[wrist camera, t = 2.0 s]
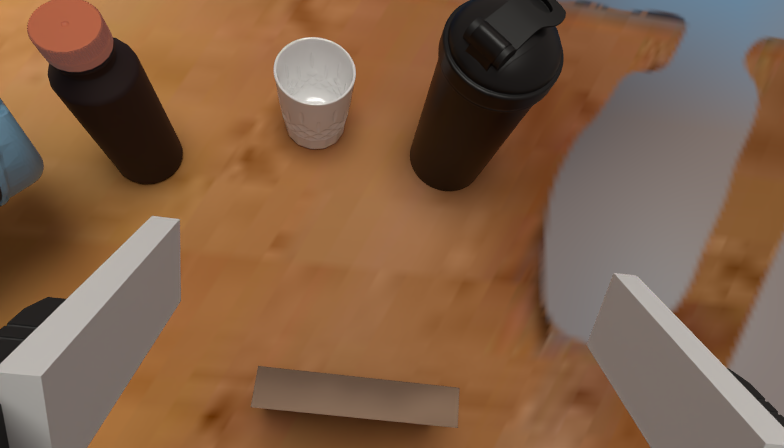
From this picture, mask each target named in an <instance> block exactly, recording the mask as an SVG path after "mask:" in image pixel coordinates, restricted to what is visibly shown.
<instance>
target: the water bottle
mask: <svg viewBox="0 0 784 448" xmlns="http://www.w3.org/2000/svg"><path fill="white" fill-rule="evenodd" d="M565 16H566V12H565V10H564V9H563V7H562V6H561V5H560V4H559V3H558V2H557V1H556V0H470V1H467V2H465V3H464V4H462V5H460V6H459V7H458V8H457V9H456V10H454V12H453V13H452V14H451V15H450V17H449V18H448V20H447V22H446V24H445V27H444V30H443V33H442V35H441V38H440V42H439V53H438V56H439V58H438V62H437V65H436V68H435V71H434V75H433V78H432V81H431V84H430V88H429V91H428V94H427V97H426V101H425V104H424V107H423V111H422V114H421V117H420V120H419V124H418V127H417V130H416V133H415V137H414V140H413V143H412V146H411V151H410V160H411V164H412V167H413V169H414V171H415V173H416V174H417V176H418V177H419V178H420V179H421V180H422V181H423V182H425V183H426V184H427V185H429V186H431V187H433V188H435V189H438V190H443V191H456V190H460V189H463V188H465V187H467V186H468V185H470V184H471V183H472V182H473V181H474V180H475V178H476V177H477V176H478V175H479V173H480V172H481V171H482V169H483V168H484V167H485V166H486V164H487V163H488V162H489V161H490V159H491V158H492V157H493V155H494V154H495V153H496V152H497V150H498V149H499V148H500V147H501V145H502V144H503V143H504V141H505V140H506V139H507V138H508V136H509V135H510V134H511V132H512V131H513V130H514V129H515V127H516V126H517V125H518V124H519V122H520V121H521V120H522V118H523V117H524V116H525V115H526V113H527V112H528V111H529V109H530V108H531V107H532V106H533V105H534V104H536V103H537V102H539V101H540V100H541V99H542V98H543V97H544V96H545V95H546V94H547V93H548V92H549V90H550V89H551V88H552V86H553V85H554V83H555V82H556V81H557V79H558V77H559V75H560V73H561V70H562V66H563V49H562V45H561V41H560V37H559V34H558V30H557V28H556V26H557V25H559V24H560V23H561V22H562V21H563V20H564V18H565Z"/></svg>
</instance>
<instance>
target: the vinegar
mask: <svg viewBox="0 0 784 448" xmlns="http://www.w3.org/2000/svg"><path fill="white" fill-rule="evenodd" d="M28 21H29V23H28V25H27V26H28V28H27V29H28V30H27V31H28V34H29V35H28V36H29V38H30V39H31V41H32V42H33V44H34V45H35V46H36V48H37V49H38V50H39V51H40V53H41V54H42V55H43V56H44V58H45V59H46V60H47V61H48V63H49V68H48V78H49V81H50V85H51V87H52V89H53V90H54V91H55V93H56V94H57V95H58V96H59V97H60V99H61V100H62V101H63V102H64V104H65V105H66V106H67V107H68V108H69V110H70V111H71V112H72V113H73V115H74V116H75V117H76V118H77V120H78V121H79V122H80V123H81V124H82V126H83V127H84V128H85V129H86V131H87V132H88V133H89V134H90V135H91V137H92V138H93V139H94V140H95V142H96V143H97V144H98V145H99V147H100V148H101V149H102V150H103V151H104V153H105V154H106V155H107V156H108V158H109V159H110V160H111V161H112V162H113V164H114V165H115V166H116V167H117V169H118V170H119V171H120V172H121V174H122V175H123V176H125V177H126V178H128V179H130V180H131V181H134V182H138V183H142V184H149V183H156V182H159V181H163V180H165V179H166V178H168V177H169V176H171V175H172V174H173V173H174V172H175V171H176V170H177V169H178V167H179V165H180V163H181V160H182V146H181V144H180V141H179V139H178V137H177V135H176V133H175V131H174V129H173V127H172V125H171V123H170V121H169V119H168V117H167V115H166V113H165V111H164V109H163V107H162V105H161V103H160V101H159V99H158V97H157V95H156V93H155V91H154V89H153V87H152V85H151V83H150V81H149V79H148V77H147V75H146V73H145V71H144V69H143V67H142V65H141V63H140V61H139V59H138V57H137V55H136V54H135V53H134V51H133V50H132V49H131V48H130V47H129V46H128V45H127V44H125V43H123V42H122V41H120V40H118V39H117V38H113V37H112V34H111V32H110V30H109V28H108V26H107V25H106V23H105V21H104V19H103V17H102V15H101V14H100V12H99V11H98V9H96V7H94V6H93V5H91V4H89V2H88V3H87V2H86V1H83V0H51V1H48V2H47V3H45V4H43V5H41V6H40V7H38V9H36V10H35V11H34V12H33V14H32V16H31V17H30V18H29V20H28Z"/></svg>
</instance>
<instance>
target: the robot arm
mask: <svg viewBox="0 0 784 448" xmlns="http://www.w3.org/2000/svg"><path fill="white" fill-rule="evenodd" d="M43 167H44V165H43V160H42V158H41V156H40V154H39V153H38V151H37V150H36V148H35V147H34V146H33V144H32V143H31V141H30V140H29V138H28V137H27V136H26V134H25V133H24V131H23V130H22V128H21V127H20V126H19V124H18V123H17V121H16V120H15V118H14V117H13V116H12V114H11V113H10V111H9V110H8V108H7V107H6V106H5V104H4V103H3V101H2V100H1V98H0V206H2V205H4V204H6V203H7V202H8V200H9V198H11V197H12V196H14V195H16V194H17V193H19V192H20V191H22V190H24V189H25V188H27V187H28V186H30V185H32V184H33V183H35V182H36V181H37V180H38V179H39V178H40V176H41V175H42V172H43ZM180 301H181V281H180V219H173V218H165V217H157V216H151V217H150V218H149V219H148V220H147V221H146V222H145V223H144V224H143V225H142V226H141V227H140V228H139V229H138V230H137V231H136V232H135V233H134V234H133V235H132V236H131V237H130V238H129V239H128V240H127V241H126V242H125V243H124V244H123V245H122V246H121V247H120V248H119V249H118V250H117V251H116V252H115V253H113V254H112V255H111V256H110V257H109V258H108V259H107V260H106V261H105V262H104V263H103V264H102V265H101V266H100V267H99V268H98V269H97V270H96V271H95V272H94V273H93V274H92V275H91V276H90V277H89V278H88V279H87V280H86V281H85V282H84V283H83V284H82V285H81V286H80V287H79V288H78V289H77V290H75V291H74V292H73V293H72V294H71V295H70V296H69V297H68V298H67V299H62V298H52V297H47V298H45V299H43V300H41V301H39V302H37V303H35V304H32V305H30V306H28V307H26V308H24V309H23V310H22V311H21V312H20V313H18V314H17V315H16V316H15V317H14V318H13V319H12V320H11V321H9V322H8V324H7V326H4V327H3V328H1V329H0V448H87V447H88V445H89V444H90V442H91V441H92V439H93V437H94V436H95V434H96V433H97V431H98V430H99V428H100V427H101V425H102V423H103V422H104V420H105V419H106V417H107V416H108V414H109V412H110V411H111V409H112V408H113V406H114V405H115V403H116V401H117V400H118V398H119V397H120V395H121V394H122V392H123V391H124V389H125V387H126V386H127V384H128V383H129V381H130V380H131V378H132V376H133V375H134V373H135V372H136V370H137V369H138V367H139V365H140V364H141V362H142V361H143V359H144V358H145V356H146V355H147V353H148V351H149V350H150V348H151V347H152V345H153V344H154V342H155V340H156V339H157V337H158V336H159V334H160V333H161V331H162V330H163V328H164V326H165V325H166V323H167V322H168V320H169V319H170V317H171V315H172V314H173V312H174V311H175V309H176V308H177V306H178V304H179V303H180ZM587 346H588V348H589V350H590V351H591V353H592V354H593V356H594V358H595V359H596V361H597V362H598V364H599V366H600V367H601V369H602V370H603V372H604V374H605V375H606V377H607V378H608V380H609V382H610V383H611V385H612V386H613V388H614V389H615V391H616V393H617V394H618V396H619V397H620V399H621V401H622V402H623V404H624V405H625V407H626V409H627V410H628V412H629V413H630V415H631V417H632V418H633V420H634V421H635V423H636V425H637V426H638V428H639V429H640V431H641V433H642V434H643V436H644V437H645V439H646V441H647V442H648V444H649V445H650V447H651V448H784V417H783V416H782V415H778V411H777V410H776V409H775V408H774V407H773V406H772V405H771V404H770V403H769V402H765V398H764V397H763V396H762V395H761V394H760V393H759V392H758V391H757V390H756V389H755V388H754V387H753V386H752V385H751V384H750V383H749V382H747V381H746V380H744V379H743V378H742V377H740V376H739V375H737V374H736V373H734V372H733V371H731V370H730V369H729V368H726V367H725V366H724V365H723V364H722V363H721V362H720V361H719V360H718V359H717V358H716V357H715V356H714V355H713V354H712V353H711V352H710V351H709V350H708V349H707V348H706V347H705V346H704V345H703V344H702V343H701V341H700V340H699V339H698V338H697V337H696V336H695V335H694V334H693V333H692V332H691V331H690V330H689V329H688V328H687V327H686V326H685V325H684V324H683V323H682V322H681V321H680V320H679V319H678V318H677V317H676V316H675V315H674V314H673V313H672V312H671V310H670V309H669V308H668V307H667V306H666V305H665V304H664V303H663V302H662V301H661V300H660V299H659V298H658V297H657V296H656V295H655V294H654V293H653V292H652V291H651V290H650V289H649V288H648V287H647V286H646V285H645V284H644V283H643V282H642V281H641V279H640V278H639V277H637V276H634V275H626V274H618V273H614V274H613V276H612V279H611V282H610V284H609V287H608V290H607V292H606V295H605V298H604V301H603V303H602V306H601V308H600V311H599V314H598V316H597V319H596V322H595V324H594V327H593V330H592V332H591V335H590V338H589V340H588V343H587Z"/></svg>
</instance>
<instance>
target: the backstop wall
mask: <svg viewBox="0 0 784 448" xmlns="http://www.w3.org/2000/svg"><path fill="white" fill-rule="evenodd" d="M251 407H255V408H265V409H275V410H284V411H294V412H304V413H314V414H324V415H334V416H344V417H354V418H364V419H374V420H384V421H394V422H404V423H414V424H424V425H434V426H444V427H454V428H458V408H459V388H456V387H447V386H437V385H428V384H419V383H410V382H401V381H391V380H382V379H373V378H364V377H355V376H345V375H336V374H327V373H318V372H309V371H299V370H290V369H281V368H272V367H263V366H258V370H257V375H256V381H255V386H254V392H253V397H252V403H251Z"/></svg>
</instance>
